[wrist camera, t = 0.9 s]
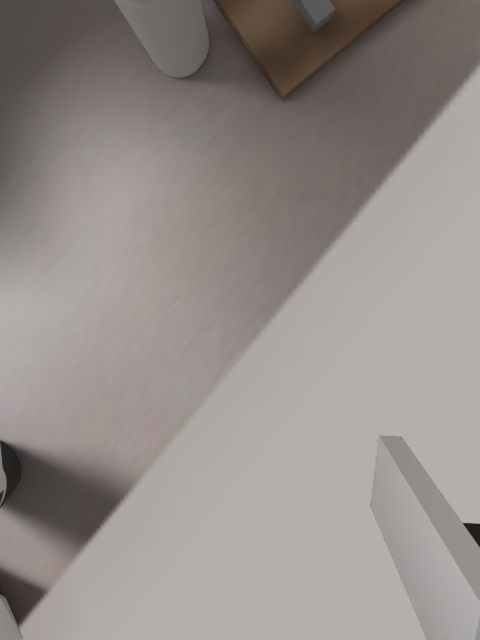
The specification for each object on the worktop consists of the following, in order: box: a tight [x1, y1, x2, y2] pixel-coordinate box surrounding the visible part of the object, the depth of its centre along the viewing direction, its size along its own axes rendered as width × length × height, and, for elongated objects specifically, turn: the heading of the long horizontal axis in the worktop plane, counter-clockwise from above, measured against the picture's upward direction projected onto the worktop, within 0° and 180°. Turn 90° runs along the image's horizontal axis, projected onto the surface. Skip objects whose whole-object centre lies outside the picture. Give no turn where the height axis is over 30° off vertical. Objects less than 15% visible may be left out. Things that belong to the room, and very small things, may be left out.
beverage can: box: [114, 0, 210, 78], centre depth 27 cm, size 5×5×12 cm
